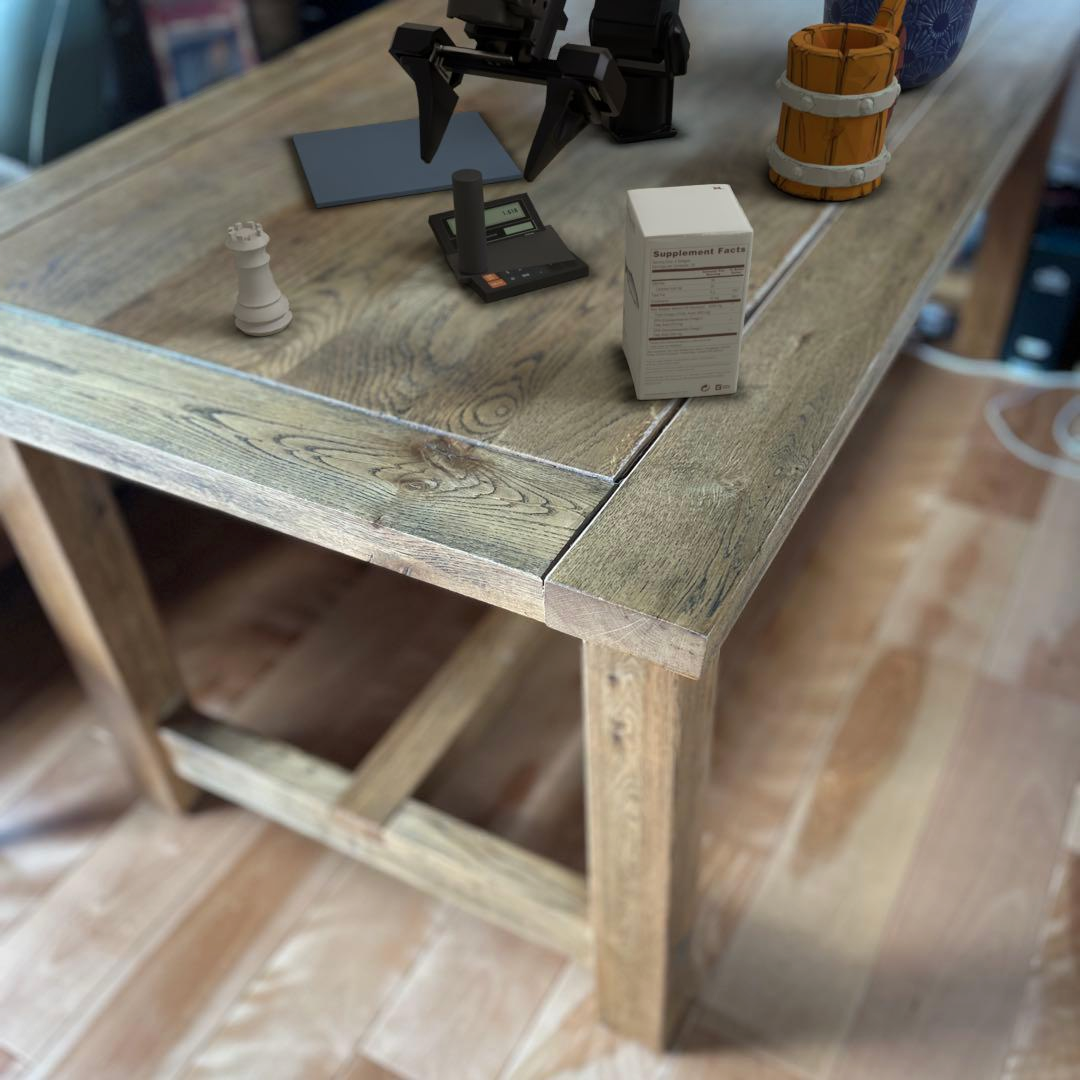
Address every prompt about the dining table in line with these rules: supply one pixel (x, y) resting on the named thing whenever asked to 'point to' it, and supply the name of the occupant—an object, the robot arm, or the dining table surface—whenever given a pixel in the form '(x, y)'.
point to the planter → (916, 32)
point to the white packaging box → (685, 290)
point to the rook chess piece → (256, 283)
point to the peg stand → (497, 256)
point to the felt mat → (397, 159)
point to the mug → (838, 106)
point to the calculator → (504, 224)
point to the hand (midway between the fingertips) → (475, 170)
